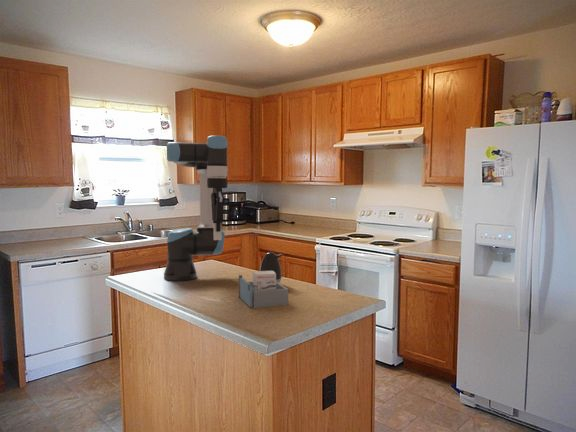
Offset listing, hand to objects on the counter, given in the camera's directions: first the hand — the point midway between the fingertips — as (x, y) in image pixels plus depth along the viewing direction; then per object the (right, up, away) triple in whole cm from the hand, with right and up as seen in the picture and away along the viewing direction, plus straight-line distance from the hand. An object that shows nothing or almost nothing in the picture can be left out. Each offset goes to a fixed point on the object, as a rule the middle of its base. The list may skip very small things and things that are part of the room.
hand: (217, 239), depth 160 cm
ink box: (+18, -25, +3) cm, 30 cm away
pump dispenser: (+19, -22, +29) cm, 41 cm away
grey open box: (+17, -24, +5) cm, 30 cm away
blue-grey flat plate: (+11, -24, +2) cm, 26 cm away
